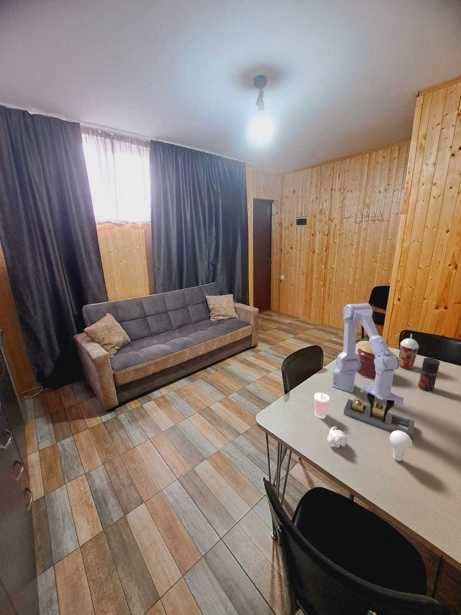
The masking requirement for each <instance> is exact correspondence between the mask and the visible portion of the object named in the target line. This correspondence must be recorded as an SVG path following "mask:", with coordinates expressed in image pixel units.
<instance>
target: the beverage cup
mask: <svg viewBox="0 0 461 615" xmlns="http://www.w3.org/2000/svg"><path fill="white" fill-rule="evenodd" d="M313 397H314V415H315V417H316V418H318V419H325V418H326V417H327V411H328V405H329V402H330V396H329V395H328V394H327V393H324V386H323V385H322V386H321V392H316V393H314V395H313Z"/></svg>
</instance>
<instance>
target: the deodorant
mask: <svg viewBox="0 0 461 615" xmlns="http://www.w3.org/2000/svg"><path fill="white" fill-rule="evenodd" d="M439 367H440V360H438V359H436V358H432V357H424V358H423V361H422V366H421V370H420V371H421V372H420V376H419V380H418V384H417V387H418V389H420V390H421V391H424V392H428V393H433V392H434V389H435V385H436V381H437V377H438V374H439V372H438V371H439Z"/></svg>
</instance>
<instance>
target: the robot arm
mask: <svg viewBox="0 0 461 615" xmlns="http://www.w3.org/2000/svg"><path fill="white" fill-rule="evenodd" d="M373 313H374V311H373V308H372V306H371V304H370V303H369V302H365V303H349V304H346V305H345V306H343V317H342V319H343V320H344V326H343V327H344V328H343V330H344V331H343V348H342V350H343V351H342V352H340V353H339V354H337V359H336V362H335V366H336V367H335V368H334V371H333V376H332V385H331V387H333V388H336V389H338V390H341V391H344V392H345V391H346V392H348V393H351V394H353V393H354V390H355V388H356V386H357V384H356V383H355V378H356V373H358V372H357V370H359V369H360V367H361V364H360V357H359V356H358V353H356V347H357V346H356V345H357V328H358V323H359V324H361V326H362V327H363V329H364V331H365V333H366V335H367V336H368V338H369V340H368V343H369V345H370V347H371V349H372V351H373V353H374V356H375V359H374V364H375V371H376V377H375V378H374V384H373V386H365V385H361V386H360V393H366V394H367V395H366V399H367V401H368V403H369V406H370V407H371V411H373V406H374V402H375V399H376V398H377V400H380V401H384V400H386V404H385V405H386V407H385V412H384V416H386V414H387V412H389V411H390V410H391V409H392V408H393V407H394V406H395V403H398V404H399V405H402V406H403V405H404V400H405V399H404V397H402V396H399V395H398V394H395V393H393V392H392V386H393V382H394V381H393V380H394V376H395V375H394V374H395V370H397V369H399V367H400V366H399V365H400V362H399V356H397V354H395V353H394V352H393V351H392V350H391V349H390V348H389V346H388V344H387V342H386V340H385V338H384V336H381V335H379V332H378V329H377V327H376V324H375V322H374V319H373Z"/></svg>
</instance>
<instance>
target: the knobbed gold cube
mask: <svg viewBox="0 0 461 615" xmlns="http://www.w3.org/2000/svg"><path fill="white" fill-rule="evenodd" d="M385 408H386V404H382V403H379V402H376V401H374V406H373V411H372V414H371V417H373V418H376V419H379V420H382V421H384V419H385V418H384V412H385Z"/></svg>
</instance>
